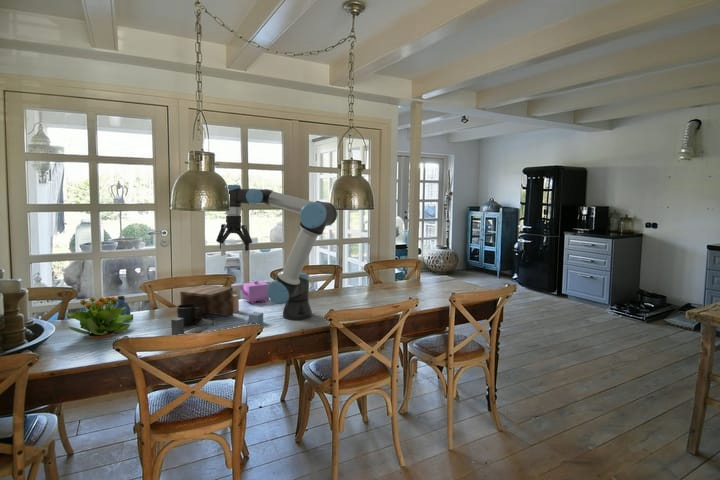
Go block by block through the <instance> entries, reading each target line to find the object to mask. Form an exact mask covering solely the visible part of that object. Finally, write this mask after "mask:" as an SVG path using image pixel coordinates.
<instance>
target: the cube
mask: <svg viewBox="0 0 720 480" xmlns="http://www.w3.org/2000/svg"><path fill="white" fill-rule="evenodd" d="M250 323H257V324H260V325H262V324H263V323H264V313H263V312H256V311H254V312H251V313H249V314H248V325H250Z"/></svg>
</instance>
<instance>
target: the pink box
mask: <svg viewBox="0 0 720 480" xmlns="http://www.w3.org/2000/svg"><path fill="white" fill-rule="evenodd" d="M269 284H270V283H267V282H264V281H259V280H253V282H246V283H245V282H244V283H243V285H242V284H238V285H236V286H237V287H239V288H240V291H241V294H242V295H243V299H244V300H246V301H247V302H249V303H250V304H253V305H255V304H256V302H259V301H260V303H266V301H269V300H270V298H269V295H268V293H267V288H268V285H269Z"/></svg>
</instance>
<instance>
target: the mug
mask: <svg viewBox="0 0 720 480" xmlns="http://www.w3.org/2000/svg"><path fill="white" fill-rule="evenodd" d="M195 309H200V314H199V315H198V316H197V317H198V318H197V319H196V320H195V321H194V318H195ZM176 312H177V314H176V315H177V317H178V318H184V328H185V327H191V326H193V325H196V324H195V323H196V322H197V321H198V319H199V317H201V316H202V315H203V314H202V308H200V307H197V308H195V305H194V304H182V305H181V304H179V305H177V306H176Z"/></svg>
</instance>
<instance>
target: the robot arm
mask: <svg viewBox="0 0 720 480" xmlns="http://www.w3.org/2000/svg"><path fill="white" fill-rule="evenodd" d="M226 185H227V186H228V189H229V194H230V210H229V211H226V210H225V215H226V216H225V222H226V223H221V224H220V230H219V233H218V235H217V238H216V240H215V242H218V243H219V250H220V256H222V257H224V256H226V255H227V254H226V251H227V250H226V241H227V239H228V237H229V236H230V234H236V235H238V237H239V239H241V241H242V243H243V245H242V250H243V251H242V252H243V258H248V257H249V255H248V252H249V250H250V244H252V243H253V240H252V237H251V235H250V233H249V231H248V226H247V225H246V224H242V216H241V215H242V205H244V204H245V205H248V204H249V205H258V204H259V205H260V204H261V205H267V206H271V207H275V208H280V209H282V210H286V211H289V212H293V213H297V214H299V219H300V222H299V227H300V230H299V232H298V235H297V237H296V240H295V242H294V244H293V246H292V248H291V251H290V252H289V255H288V257H287V259H286V262H285V264H284V267H283V269H282V270H281V271H278V272H277V274H276V276H275V278H274V280H273V281H271V282H270V283H268V284H269V285H268V288H267V293H268V295H269V300H270V301H271V302H272V303H274V304H276V305H283V304H285V305H284V307H283V312H282V318H284V319H287V320H291V321H292V320H295V321H297V320H305V319H309V318H311V317H312V316H313V310H312V308H311V305H310V300H309V294H310V293H309V287H310V286H309V282H310V280H309V275H308V273H306V272H304V273H303V272H302V271H303V268H304V266H305V265H306V262H307V260H308V258H309V256H310V253H311V251H312V250H313V247H314V245H315V243H316V240H317V239H318V236H319V237H320V236H321V235H323V233H324V231H325V229H326V227H328V226H330V225H331V226H332V225H333V224H334V223H336V221H337V218H338V209H337V208H336V206H335V205H334V204H333V203H331V202H327V201H320V200H315V201H312V200H307V199H304V198H301V197H296V196H292V195H289V194H284V193H281V192H276V191H273V189H267V188H265V189H260V188H242V187H241V185H240V184H226Z"/></svg>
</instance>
